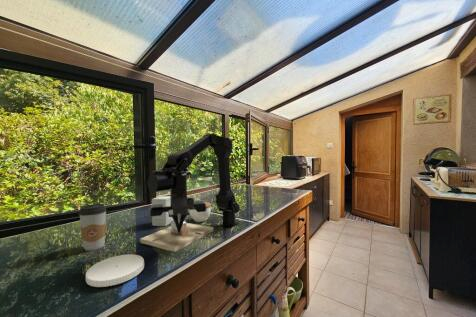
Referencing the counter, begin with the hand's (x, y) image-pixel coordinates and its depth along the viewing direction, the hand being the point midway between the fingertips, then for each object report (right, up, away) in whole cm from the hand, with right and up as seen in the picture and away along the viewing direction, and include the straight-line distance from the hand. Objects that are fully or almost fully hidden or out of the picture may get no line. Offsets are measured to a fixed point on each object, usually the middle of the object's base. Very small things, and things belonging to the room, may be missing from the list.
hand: (179, 232), depth 77 cm
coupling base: (-3, -5, +10) cm, 11 cm away
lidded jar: (+2, -5, +31) cm, 31 cm away
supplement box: (-15, -5, +27) cm, 31 cm away
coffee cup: (-31, -6, +1) cm, 32 cm away
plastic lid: (-13, -6, -17) cm, 22 cm away
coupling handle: (-1, -3, +6) cm, 7 cm away
